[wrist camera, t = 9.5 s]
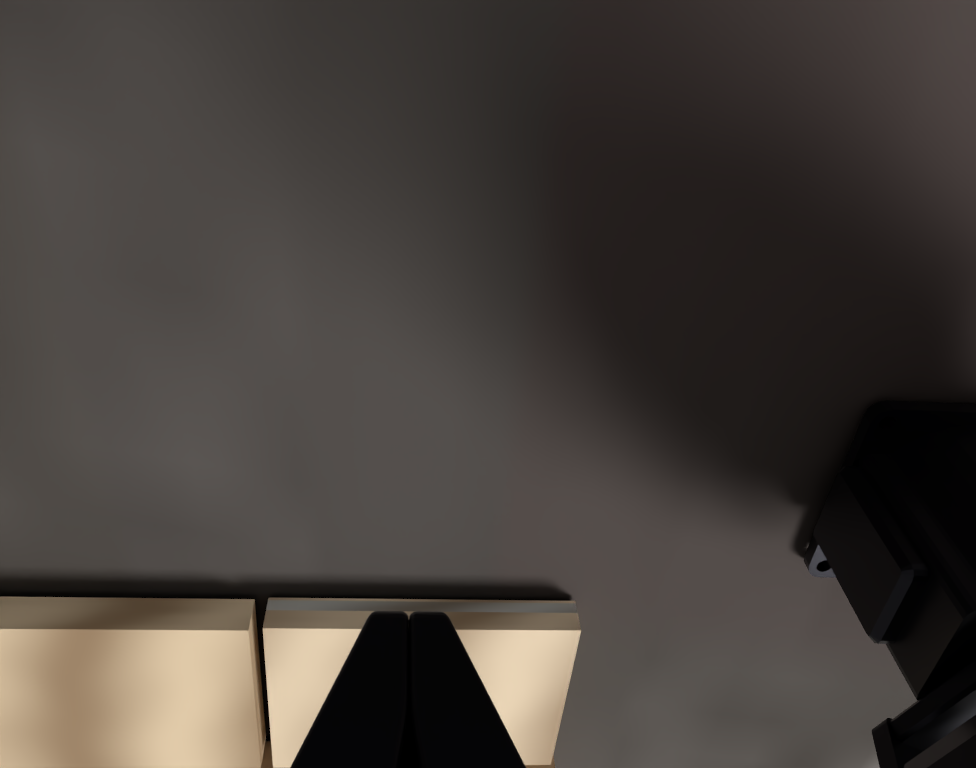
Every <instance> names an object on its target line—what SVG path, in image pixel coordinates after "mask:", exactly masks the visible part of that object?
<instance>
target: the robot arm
mask: <svg viewBox="0 0 976 768" xmlns="http://www.w3.org/2000/svg"><path fill="white" fill-rule="evenodd" d="M886 417H888V419H887V420H885V421H883V422H880V421H881V420H882V419H884V418H886ZM879 422H880V423H879ZM821 561H822V562H821ZM804 562H805V564H806V566H807V568H808V570H809V572H810V574H811V575H813V576H815V577H836V578H837V580H838V582H839V583H840V585H841V587H842V589H843V591H844V593H845V594H846V596H847V598H848V600H849V602H850V604H851V606H852V607H853V609H854V611H855V613H856V615H857V617H858V619H859V620H860V622H861V624H862V626H863V628H864V630H865V631H866V633H867V635H868V636H869V637H870V638H871V639H872V640H873V642H874V643H878V644H886V645H887V647H888V649H889V651H890V652H891V654H892V656H893V658H894V660H895V661H896V663H897V665H898V667H899V669H900V670H901V672H902V674H903V676H904V678H905V679H906V681H907V683H908V685H909V687H910V688H911V690H912V692H913V694H914V695H915V697H916V699H917V700H918V701H917V702H915V703H914V704H913V705H911V706H910V707H909V708H907V709H906V710H905V711H903V712H902V713H900V714H899V715H898V716H896V717H895V718H894V719H891V718H887V719H886V720H884V721H883V722H882V723H880V724H879V725H878V726H876V727H875V728H874V729H872V735H873V739H874V744H875V748H876V752H877V757H878V761H879V766H880V768H976V404H958V403H932V402H907V401H881V402H878V403H876V404H874V405H872V406H871V407H870V408H869V409H867V411H866V412H865V414H864V416H863V418H862V421H861V423H860V425H859V428H858V430H857V432H856V435H855V437H854V440H853V442H852V444H851V447H850V449H849V451H848V454H847V456H846V459H845V461H844V463H843V466H842V468H841V470H840V471H839V473H838V474H837V476H836V479H835V481H834V483H833V486H832V488H831V491H830V493H829V495H828V498H827V500H826V503H825V505H824V507H823V510H822V512H821V514H820V517H819V519H818V522H817V524H816V526H815V529H814V531H813V537H812V539H811V542H810V544H809V547H808V549H807V551H806V554H805V556H804ZM290 768H526V766H525V764H524V762H523V760H522V759H521V757H520V755H519V753H518V751H517V749H516V747H515V745H514V743H513V741H512V739H511V737H510V735H509V733H508V731H507V729H506V727H505V725H504V723H503V721H502V719H501V718H500V716H499V714H498V712H497V710H496V708H495V706H494V704H493V702H492V700H491V698H490V696H489V694H488V692H487V690H486V688H485V686H484V684H483V682H482V680H481V678H480V676H479V675H478V673H477V671H476V669H475V667H474V665H473V663H472V661H471V659H470V657H469V655H468V653H467V651H466V649H465V647H464V645H463V643H462V641H461V639H460V637H459V635H458V633H457V632H456V630H455V628H454V626H453V624H452V622H451V620H450V618H449V617H448V616H447V614H446V613H444V612H434V611H415V612H413V613H411V614H410V616H409V620H408V615H407V614H406V613H405V612H403V611H374V612H372V613H371V614H370V615H369V617H368V618H367V620H366V622H365V624H364V626H363V628H362V630H361V631H360V633H359V635H358V637H357V639H356V641H355V643H354V645H353V647H352V649H351V651H350V653H349V655H348V657H347V659H346V660H345V662H344V664H343V666H342V668H341V670H340V672H339V674H338V676H337V678H336V680H335V682H334V684H333V686H332V688H331V689H330V691H329V693H328V695H327V697H326V699H325V701H324V703H323V705H322V707H321V709H320V711H319V713H318V715H317V717H316V718H315V720H314V722H313V724H312V726H311V728H310V730H309V732H308V734H307V736H306V738H305V740H304V742H303V744H302V746H301V747H300V749H299V751H298V753H297V755H296V757H295V759H294V761H293V763H292V765H291V767H290Z"/></svg>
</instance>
